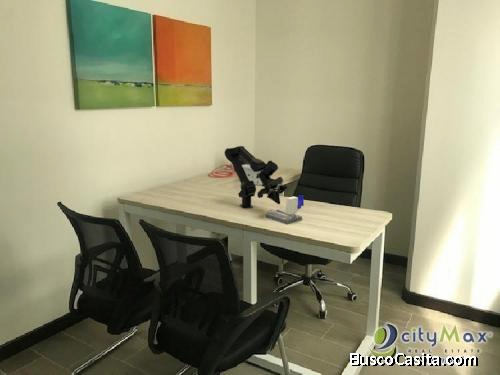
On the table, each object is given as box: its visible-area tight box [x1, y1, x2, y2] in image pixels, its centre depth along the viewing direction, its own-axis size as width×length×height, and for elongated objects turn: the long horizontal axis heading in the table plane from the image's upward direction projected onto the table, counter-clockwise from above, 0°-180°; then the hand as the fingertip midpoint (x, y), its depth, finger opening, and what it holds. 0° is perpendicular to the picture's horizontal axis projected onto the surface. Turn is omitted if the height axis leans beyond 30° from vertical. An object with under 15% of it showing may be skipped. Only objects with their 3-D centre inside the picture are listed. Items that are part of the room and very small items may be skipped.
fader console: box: [265, 208, 303, 225], centre depth 219 cm, size 16×12×3 cm
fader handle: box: [285, 196, 298, 218], centre depth 214 cm, size 3×6×11 cm, turn 132°
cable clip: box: [297, 195, 305, 210], centre depth 242 cm, size 12×4×6 cm, turn 145°
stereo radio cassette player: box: [242, 163, 262, 186], centre depth 305 cm, size 21×8×20 cm, turn 46°
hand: (279, 203), depth 221 cm, fingers closed
